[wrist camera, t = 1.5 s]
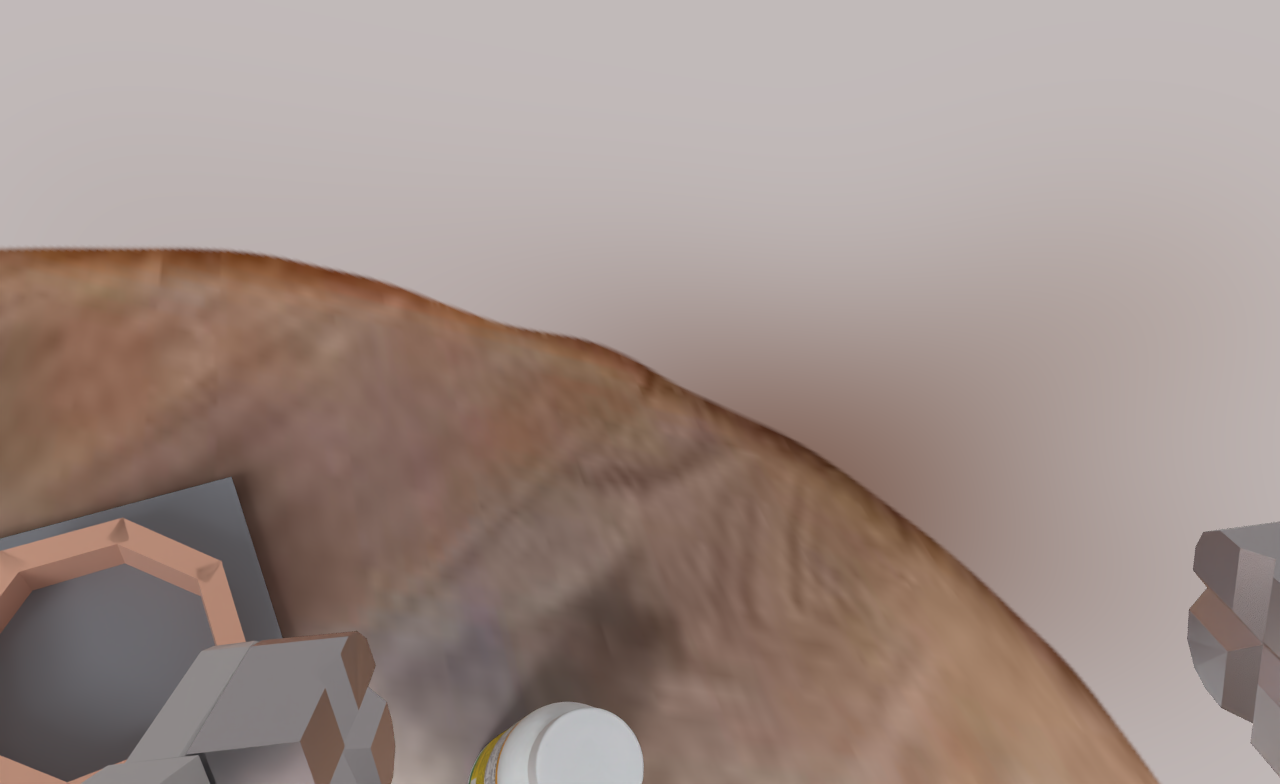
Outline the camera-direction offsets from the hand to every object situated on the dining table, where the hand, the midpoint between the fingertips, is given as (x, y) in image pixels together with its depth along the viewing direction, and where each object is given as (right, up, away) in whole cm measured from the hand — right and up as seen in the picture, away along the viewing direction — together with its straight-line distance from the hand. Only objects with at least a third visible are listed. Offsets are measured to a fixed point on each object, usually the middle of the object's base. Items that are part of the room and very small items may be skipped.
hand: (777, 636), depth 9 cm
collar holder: (-23, -9, +28) cm, 37 cm away
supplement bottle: (-6, -15, +32) cm, 36 cm away
